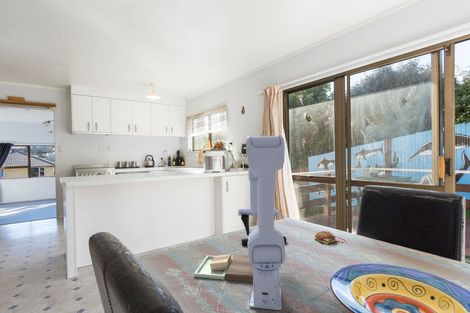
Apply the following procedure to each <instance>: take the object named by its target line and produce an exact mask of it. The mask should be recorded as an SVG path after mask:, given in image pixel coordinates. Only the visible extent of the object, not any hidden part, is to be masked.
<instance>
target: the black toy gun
mask: <svg viewBox="0 0 470 313" xmlns="http://www.w3.org/2000/svg"><path fill="white" fill-rule="evenodd" d="M251 232H252V231H249V234H250V233H251ZM282 236H283V238H284V242H285V243H287V237H286V236H285V235H282ZM241 246H247V247H248V237H246V238H241Z"/></svg>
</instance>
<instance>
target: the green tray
mask: <svg viewBox="0 0 470 313" xmlns="http://www.w3.org/2000/svg"><path fill="white" fill-rule="evenodd" d="M215 256H216V255H206V257H204V259H203V260H202V262H201V263H200V265H199V266H198V267H197V269H196V270H195V271H194V273H193V277H194V278H199V279H209V280H210V279H211V280H213V279H214V280H226V272H227V270H228V269H226V270H217V271H211V267H210V263H211V261H212V260H213V258H214V257H215ZM233 257H234V256H231V258H232V259H233Z"/></svg>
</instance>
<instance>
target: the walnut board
mask: <svg viewBox="0 0 470 313" xmlns="http://www.w3.org/2000/svg"><path fill="white" fill-rule="evenodd" d="M232 257H233V259H232V261H231V263H230V265H229V268H228V270H227V272H226V277H225V280H226V281H237V282H250V283H253V264H250V263H249V262H248V255H241V254H234V255H233V256H232Z"/></svg>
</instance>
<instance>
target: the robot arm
mask: <svg viewBox="0 0 470 313" xmlns="http://www.w3.org/2000/svg"><path fill="white" fill-rule="evenodd" d="M245 139H246V140H245V149H246V150H245V151H246V152H245V153H246V161H247V162H246V163H247V165H248V168H247V170H248V181H249V205H250V206H249V207H250V208H239V209H238V212H237V213H238V214H237V216H239V217H240V219H241V222H242V223H243V225H244V229H245V232H246V236H247V238H248V245H247V256H248V262H249V263H250V264H253V282H252V292H251V297H250V302H249V307H250V308H256V309H264V310H266V309H267V310H274V311H282V288H281V287H280V286H281V285H280V283H281V282H280V278H281V277H280V268H281V267H282V266H281V265H283V264H285V261H286V247H285V244H286V242H284V238H283V236H284V235H283V234H282V233H281V232H280V231H279V230H277V229H276V228H275V220H276V218H278V217H279V210H278V209H275V207H276V205H275V203H276V202H275V201H276V179H277V175H278V171H279V170H281V169H283V168H284V163H285V156H286V155H285V151H286V149H285V148H286V146H285V139H284V137H283V136H282V135H281V134H279V135H262V136H261V135H254V136H253V135H252V136H251V135H247V137H246V138H245ZM250 216H257V227H256V228H254V230H252V231H250ZM249 232H251V233H250V234H249Z"/></svg>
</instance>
